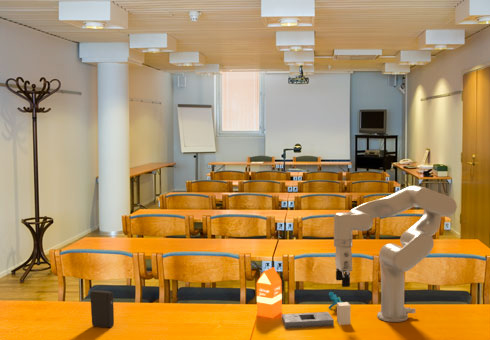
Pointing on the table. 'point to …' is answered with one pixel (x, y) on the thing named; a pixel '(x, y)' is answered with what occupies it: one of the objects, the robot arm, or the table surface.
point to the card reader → (102, 308)
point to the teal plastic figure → (334, 299)
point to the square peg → (343, 313)
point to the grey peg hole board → (307, 320)
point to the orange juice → (269, 294)
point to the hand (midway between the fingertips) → (342, 283)
